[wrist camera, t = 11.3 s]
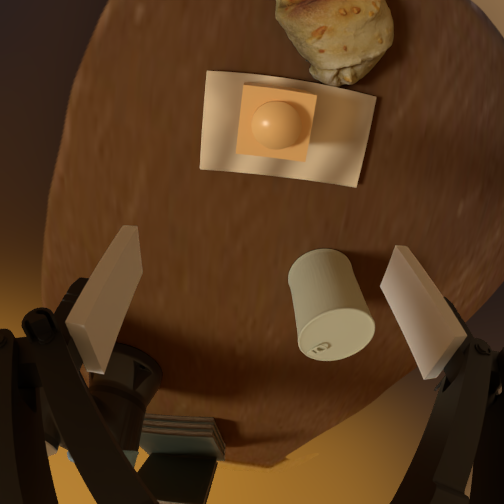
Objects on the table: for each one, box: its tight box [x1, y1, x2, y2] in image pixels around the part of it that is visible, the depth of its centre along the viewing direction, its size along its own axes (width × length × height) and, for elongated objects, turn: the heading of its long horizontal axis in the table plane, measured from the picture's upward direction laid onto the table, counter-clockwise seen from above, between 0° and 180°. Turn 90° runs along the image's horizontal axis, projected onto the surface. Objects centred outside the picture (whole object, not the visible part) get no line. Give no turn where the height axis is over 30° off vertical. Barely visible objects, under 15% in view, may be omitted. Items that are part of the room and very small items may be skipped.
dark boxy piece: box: [137, 413, 225, 504], centre depth 63 cm, size 23×20×25 cm
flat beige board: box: [200, 71, 376, 187], centre depth 29 cm, size 18×11×6 cm, turn 84°
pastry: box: [275, 0, 394, 87], centre depth 22 cm, size 14×12×8 cm
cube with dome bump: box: [236, 82, 317, 162], centre depth 26 cm, size 6×6×8 cm
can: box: [288, 248, 375, 361], centre depth 38 cm, size 9×9×12 cm
